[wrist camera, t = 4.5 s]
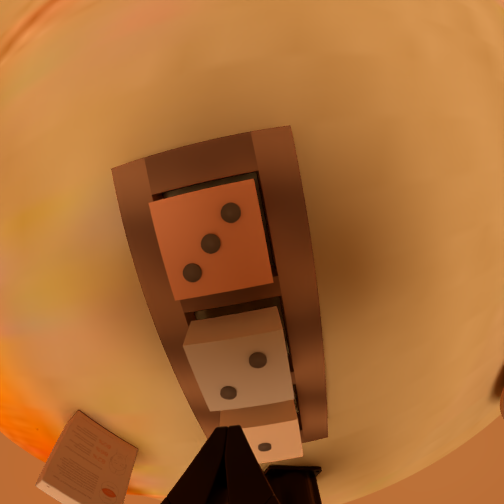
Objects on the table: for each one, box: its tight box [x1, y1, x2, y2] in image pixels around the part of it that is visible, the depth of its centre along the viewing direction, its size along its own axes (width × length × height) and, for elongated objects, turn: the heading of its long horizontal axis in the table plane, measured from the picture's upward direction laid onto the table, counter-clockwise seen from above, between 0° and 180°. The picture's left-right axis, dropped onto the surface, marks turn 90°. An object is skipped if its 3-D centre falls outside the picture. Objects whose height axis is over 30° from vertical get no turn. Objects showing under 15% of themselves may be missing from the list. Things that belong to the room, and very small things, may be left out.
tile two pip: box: [183, 306, 295, 411], centre depth 15 cm, size 5×5×3 cm
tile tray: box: [111, 126, 328, 443], centre depth 17 cm, size 24×10×2 cm, turn 11°
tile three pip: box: [149, 179, 274, 301], centre depth 14 cm, size 5×5×3 cm
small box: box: [36, 410, 138, 504], centre depth 17 cm, size 8×6×10 cm
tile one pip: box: [219, 399, 303, 463], centre depth 16 cm, size 5×5×3 cm
